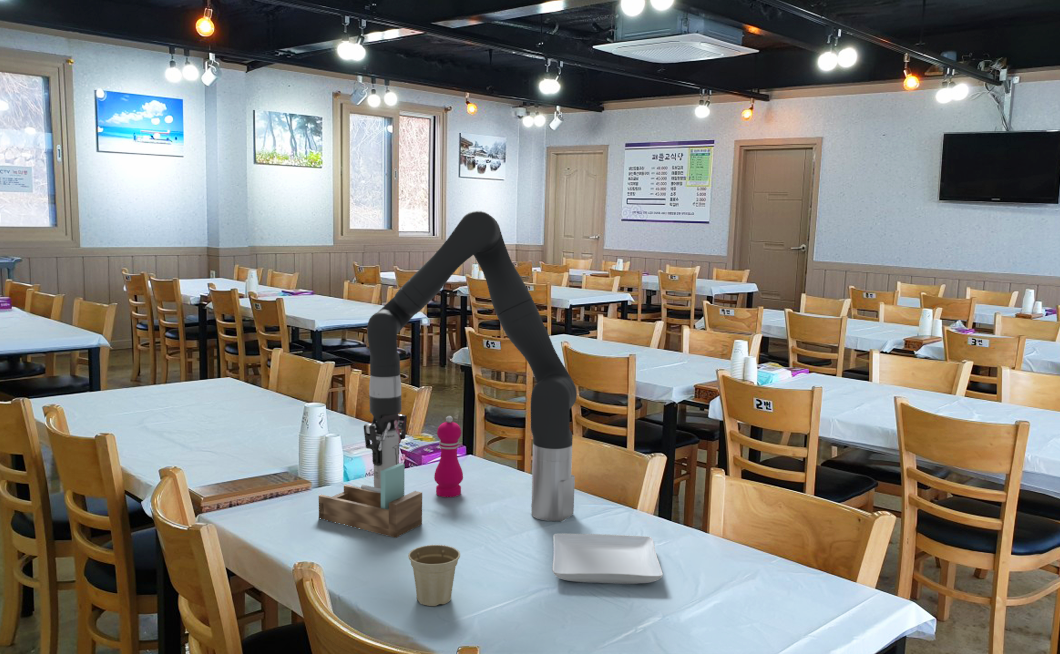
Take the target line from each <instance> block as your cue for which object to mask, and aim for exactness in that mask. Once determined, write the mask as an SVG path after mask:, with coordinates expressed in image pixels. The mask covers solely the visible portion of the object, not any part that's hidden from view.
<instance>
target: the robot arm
mask: <svg viewBox="0 0 1060 654" xmlns="http://www.w3.org/2000/svg"><path fill="white" fill-rule="evenodd" d="M505 243H506V242H505V241H504V237H503V234H502V230H501V229H500V225H499V223H498V220H496V219H495V218H494V217H493V216H492V215H491V214H489V213H488V212H485V211H482V210H474V211H470V212H468V213H466V214H465V215H464V216H463V217H462V219H461V220H460V221H459V223H458V224H457V225H456V227H455V228H454V229H453V231H452V232H451V234H450V235H449V236H448V237H447V239H446V240H445V241H444V243H443V244H442V245H441V246H440V248H438V250H437V251H436V252H435V253H434V254H433V255H432V257H431V258H430V259H429V260H428V261H427V262H426V263H424V265H423V266H421V268H419V269H418V270H417V271H416V272H415V273H414V274H413V275H412V276H411V277H410V278H409V279H408V280H406V282H405V283H404V284H403V285H402V286H401V287H400V288H399V289H398V290H397V291H396V293H395V295H394V296H393V297H392V298H391V299H390V300H389V301H388V302H387V303H385V305H384V306H382V308H380V309H379V310H378V311H377V312H375V313H373V314H372V315H371V316H370V318H369V319H368V322H367V331H366V332H367V333H366V334H367V342H368V343H367V344H368V350H369V353H370V355H369V356H370V358H369V359H370V360H369V371H370V372H369V373H370V375H369V377H370V378H369V385H368V386H369V390H368V391H369V412H370V414H372V422H371V423H369V424H364V425H363V434H364V435H363V436H364V443H365V448H366V449H368V450H371V451H372V453H371V454H372V456H371V457H372V459H371V460H372V465H373V466H374V465H377V466H380V465H382V450H381V449H382V446H383V441H385V439H386V436H387V432H388V431H390V430H393V429H394V430H395V429H396V433H397V434H398V436H399V445H400V444H401V443H402V440H405V439H406V435H407V434H406V433H407V423H408V421H407V420H408V417H407V415H406V414H401V412H402V379H401V358H400V354H399V352H398V334H399V333H400V332H401V330H402V329H403V328H404V327H405V326H406V325H407V324H408V323H409V322H410V321H411V320H412V318H413V317H414V316H415V315H417V314H418V313H419V312H420V311H422V310H423V308H425V307H426V306H427V305H428V304H429V303H430V302H431V301H432V300H433V299H434V298H435V297H436V295H438V293H439V292H440V291H441V290H442V289H443V287H444V286H445V285H446V283H447V282H448V280H449V279H450V277H452V275H453V274H455V272H456V271H457V270H458V269H459V268H460V267H461V266H462V265H463V264H464V263H465V262H466V261H468V260H469V259H471V257H473V256H474V258H475V260H476V262H477V264H478V265H479V267H480V269H481V272H482V273H483V276H484V278H485V281H486V286H487V289H488V292H489V297H490V300H491V303H492V307H493V309H494V312H495V315H496V316H497V319H498V321H499V323H500V325H501V328H502V329H503V331H504V334H505V335H506V337H508V339H509V341H510V342H511V343H512V344H513V346H514V347H515V348H516V349H517V351H519V353H520V354H521V355H522V356H523V358H524V359H525V360H526V361H527V364H528V365H529V367H530V369H531V371H532V373H533V376H534V379H535V380H536V384H535V385H534V387H533V388H532V391H531V394H530V395H531V396H530V431H531V434H532V435H531V436H532V465H531V468H532V472H531V475H532V476H531V477H532V478H531V505H530V506H531V507H530V508H531V513H530V514H531V515H532V517H534V518H535V519H537V520H542V521H547V522H548V521H549V522H550V521H551V522H554V521H555V522H564V521H565V520H567V519H568V518H570V517H572V516H573V515H574V514H575V513H574V511H575V482H576V481H575V480H576V477H575V475H574V474H572V469H573V468H572V463H573V437H574V436H573V432H572V430H570V410H571V408H572V407H573V406H574V405H575V403H576V400H577V397H578V394H577V387H576V384H575V382H574V380H573V379H572V377H571V375H570V374H569V372H568V371H567V368H566V367H565V365H564V364H563V362H562V361H561V359H560V357H559V355H558V353H557V352H556V349H555V347H554V345H553V343H552V342H553V341H552V340H551V338H550V335H549V333H548V331H547V328H546V326H545V323H544V322H543V319H542V317H541V314H540V313H539V310H538V307H537V306H536V303H535V302H534V300H533V297H532V296H531V293H530V292H529V290H528V287H527V286H526V284H525V282H524V280H523V279H522V277H521V275H520V273H519V271H517V268H515V266H514V263H513V261H512V259H511V257H510V253H509V252H508V249H507V246H506V244H505ZM376 433H377V434H380V435H382V436H381V437H377V436H376ZM376 440H379V443H378V445H377V441H376ZM572 514H573V515H572Z"/></svg>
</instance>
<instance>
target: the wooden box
mask: <svg viewBox="0 0 1060 654" xmlns="http://www.w3.org/2000/svg"><path fill="white" fill-rule="evenodd" d="M319 518H321V519H325V520H324V521H326V520H328V521H327V522H330V521H332V522H331V523H334V522H336V523H335V524H338V523H340V524H339V525H342V524H345V525H344V526H346V525H348V526H347V527H350V526H352V528H354V527H356V528H355V529H358V528H360V529H359V530H362V529H364V530H363V531H366V530H368V531H367V532H370V531H371V533H374V532H375V533H376V534H378V533H379V535H382V534H383V535H382V536H386V535H387V537H391V538H395V539H396V538H399V537H400V536H402V535H405V534H406V533H408V532H410V531H412V530H414V529H416V528H419V527H420V526H421V525H423V491H417V490H414V491H412V492H409V493H407V494H406V495H405V494H404V496H403V497H401V498H398V499H396V500H394V501H392V502H390V503H389V510H387V509H383V508H381V493H378V492H373V491H368V490H364V489H361V487H359V486H355V485H349V484H345V485H343V492H339V493H338V494H335V495H331V496H329V495H325V494H319V495H318V519H319ZM321 519H320V520H321Z"/></svg>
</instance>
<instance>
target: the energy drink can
mask: <svg viewBox="0 0 1060 654" xmlns="http://www.w3.org/2000/svg"><path fill="white" fill-rule="evenodd" d="M376 436H377V437H381V436H382V435H380V434H377V433H376ZM376 441H377V445H378V443H379V440H376ZM381 450H382V465H380V466H377V465H374V464H373V487H376V488H381V471H382V470H384V469H387V468H389V467H392V466H394V465H397V464H399V463H400V444H399V436H398V434H397V433H396V429H395V430H394V429H393V430H390V431H388V432H387V436H386V439H385V441H383V446H382V449H381Z"/></svg>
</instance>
